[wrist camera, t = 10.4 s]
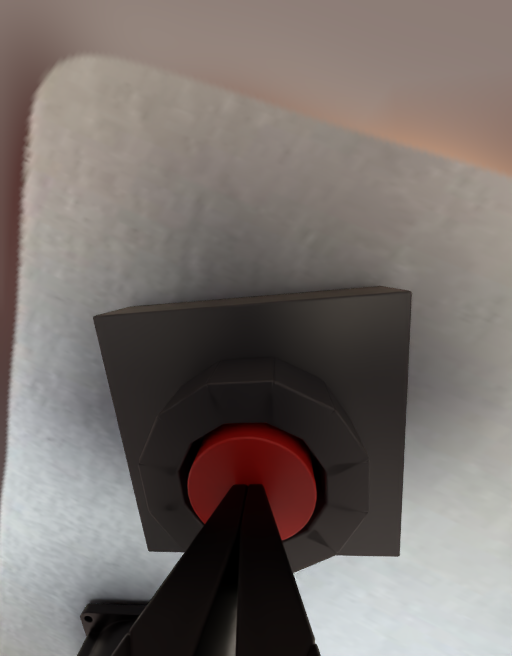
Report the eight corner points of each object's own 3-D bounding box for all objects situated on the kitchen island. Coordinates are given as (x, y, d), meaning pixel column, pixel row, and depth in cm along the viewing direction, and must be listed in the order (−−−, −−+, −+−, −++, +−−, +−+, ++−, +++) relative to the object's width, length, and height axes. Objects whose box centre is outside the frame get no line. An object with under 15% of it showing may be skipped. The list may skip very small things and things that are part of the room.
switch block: (169, 504, 13) (121, 609, 9) (129, 306, 10) (41, 328, 7) (377, 504, 12) (428, 623, 8) (382, 285, 9) (456, 297, 6)
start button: (211, 494, 9) (196, 545, 7) (197, 404, 8) (176, 439, 7) (311, 493, 9) (319, 547, 7) (306, 400, 8) (314, 435, 6)
